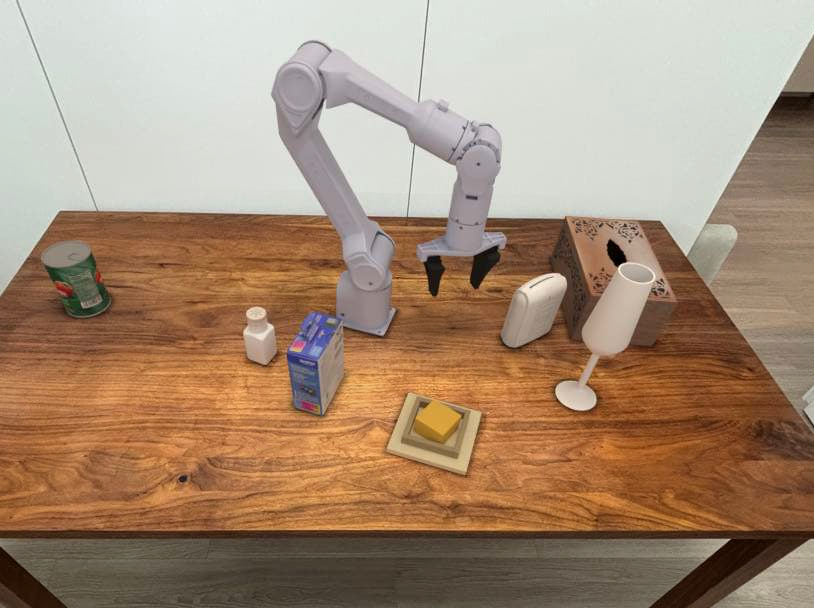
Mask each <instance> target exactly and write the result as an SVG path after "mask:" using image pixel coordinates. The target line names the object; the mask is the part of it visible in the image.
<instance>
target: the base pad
mask: <svg viewBox="0 0 814 608" xmlns="http://www.w3.org/2000/svg"><path fill="white" fill-rule="evenodd" d="M434 399H435V400H437V401H438V402H440V403H442V404H443V405H445V406H447V407H448V408H450V409H452V410H453V411H455V412H457V413H458V414H460V415H461V420H460V424H459V428H458V429H457V430H456V431H455V432H454V433H453V434H452V435H451V437H450V438H449V439H448V440H447V441H446V442H445V443H444V444H440V443H437V442H433V441H430V440H427V439H426V438H424V437H423V436H421V435H420V434H418V433H416V432H415V431H413V428H414V422H415V418H416V417H417V416H418V415H419V414H420V413H421V412H422V411H423V410H424V409H425V408H426V407H427V406H428V405H429V404H430V403H431V402H432V401H433V400H434ZM482 414H483V412H482V411H479V410H476V409H472V408H468V407H465V406H461V405H457V404H454V403H450V402H446V401H443V400H440V399H436V398H432V397H428V396H426V395H421V394H417V393H413V392H410V391H409V392H408V393H407V395H406V398H405V401H404V402H403V405H402V408H401V411H400V413H399V415H398V418H397V421H396V423H395V425H394V428H393V431H392V432H391V436H390V439H389V441H388V443H387V446H386V449H385V451H386V453H388V454H391V455H394V456H398V457H401V458H405V459H408V460H412V461H415V462H418V463H421V464H425V465H428V466H432V467H435V468H438V469H441V470H444V471H449V472H451V473H455V474H459V475H462V476H466V475H467V471H468V469H469V468H468V467H469V463H470V461H471V455H472V453H473V448H474V444H475V439H476V437H477V433H478V429H479V425H480V422H481V419H482V418H481V417H482Z"/></svg>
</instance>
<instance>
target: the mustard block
mask: <svg viewBox="0 0 814 608" xmlns="http://www.w3.org/2000/svg"><path fill="white" fill-rule="evenodd" d="M433 399H434V400H433V401H432V402H431V403H430V404H429V405H428V406H427V407H426V408H425V409H424V410H423V411H422V412H421V413H420V414H419V415H418V416H417V417H416V418H415V422H414V428H413V431H415V432H416V433H418V434H420V435H421V436H423V437H424V438H426V439H427V440H430V441H433V442H437V443H440V444H444V443H445V442H446V441H447V440H448V439H449V438H450V437H451V435H452V434H453V433H454V432H455V431H456V430H457V429H458V428H459V424H460V420H461V415H460V414H458V413H457V412H455V411H453V410H452V409H450V408H448V407H447V406H445V405H443V404H442V403H440V402H438V401H437V400H438V399H436V398H433ZM435 399H436V400H435Z"/></svg>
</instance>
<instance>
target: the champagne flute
mask: <svg viewBox="0 0 814 608" xmlns="http://www.w3.org/2000/svg"><path fill="white" fill-rule="evenodd" d="M655 277H656V276H655V274H654V272H653V271H652V270H651V269H649V268H648V267H646V266H644V265H641V264H638V263H623V264H621V265H620V266H619V267H618V269H617V271H616V273H615V274H614V276H613V278H612V279H611V281H610V283H609V284H608V286H607V288H606V289H605V291H604V293H603V294H602V296H601V298H600V299H599V301H598V303H597V305H596V306H595V308H594V310H593V311H592V313H591V315H590V316H589V318H588V320H587V321H586V323H585V325H584V326H583V329H582V338H583V341H582V342H583V343H584V345H585V347H586V348H587V349H588V350H589V351H590V352H591V354H590V357H589V358H588V361H587V363H586V365H585V367H584V369H583V371H582V372H581V375H580V377H579V379H578V380H564V381H562V382H559V383H558V384H557V385H556V386H555V391H554V392H555V393H554V394H555V396H556V398H557V399H558V401H559V402H560V403H561V404H562V405H563V406H565V407H567V408H569V409H571V410H575V411H581V412H583V411H588V410H591V409H593V408H594V407H595V406H596V404H597V401H598V399H597V395H596V392H595V391H594V390H593V389H592V388H591V387H589V385H587V383H588V380H589V378H591V377H590V376H591V374H592V372H593V371H594V369H595V367H596V365H597V363H598V361H599V359H600V357H608V356H609V357H610V356H614V355H617V354H619V353H621V352H623V351H624V350H625V349H627V348H628V346H629V342H630V340H631V337H632V335H633V332H634V330H635V327H636V325H637V323H638V320H639V318H640V315H641V313H642V310H643V308H644V305H645V303H646V300H647V298H648V295H649V293H650V291H651V288H652V286H653V283H654V281H655Z"/></svg>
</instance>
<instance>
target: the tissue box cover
mask: <svg viewBox="0 0 814 608" xmlns="http://www.w3.org/2000/svg"><path fill="white" fill-rule="evenodd" d="M550 262H551V266H552V270H553V273H559V274H560V275H561V276H564V277H565V278H566V281H567V289H566V292H565V294H564V297H563V299H562V302H561V305H562V308H563V309H562V310H563V313H564V318H565V321H566V324H567V328H568V333H569V336H570V339H571V341H578V342H579V341H580V342H584V341H583V338H582V329H583V326H584V325H585V323H586V321H587V320H588V318H589V316H590V315H591V313H592V311H593V310H594V308H595V306H596V305H597V303H598V301H599V299H600V298H601V296H602V294H603V293H604V291H605V289H606V288H607V286H608V284H609V283H610V281H611V279H612V278H613V276H614V274H615V273H616V271H617V269H618V267H619V266H620V265H621V264H623V263H638V264H641V265H644V266H646V267H648V268H649V269H651V270H652V271H653V272H654V274H655V276H656V277H655V281H654V283H653V286H652V288H651V291H650V293H649V295H648V298H647V300H646V303H645V305H644V308H643V310H642V313H641V315H640V318H639V320H638V323H637V325H636V327H635V330H634V332H633V335H632V337H631V340H630V342H629V344H628V346H629V345H630V346H641V347H642V346H643V347H653V346H654V343H655V342H656V340H657V338H658V337H659V335H660V334H661V331H662V330H663V328H664V327H665V325H666V323H667V322H668V320H669V318H670V317H671V315H672V313H673V311H674V310H675V308H676V306H677V304H678V303H679V301H678V299H677V298H676V297H677V296H676V295H675V292H674V291H673V289H672V287H671V284H670V283H669V281H668V279H667V276H666V274H665V272H664V270H663V269H662V267H661V264H660V262H659V260H658V258H657V256H656V254H655V251H654V250H653V248H652V245H651V244H650V241H649V239H648V237H647V235H646V233H645V231H644V229H643V227H642V225H641V223H640V221H639V220H630V219H615V218H605V217H604V218H602V217H591V216H589V217H587V216H577V215H576V216H574V215H565V216H564V219H563V222H562V225H561V227H560V230H559V233H558V236H557V240H556V242H555V245H554V248H553V251H552V253H551V257H550Z"/></svg>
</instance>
